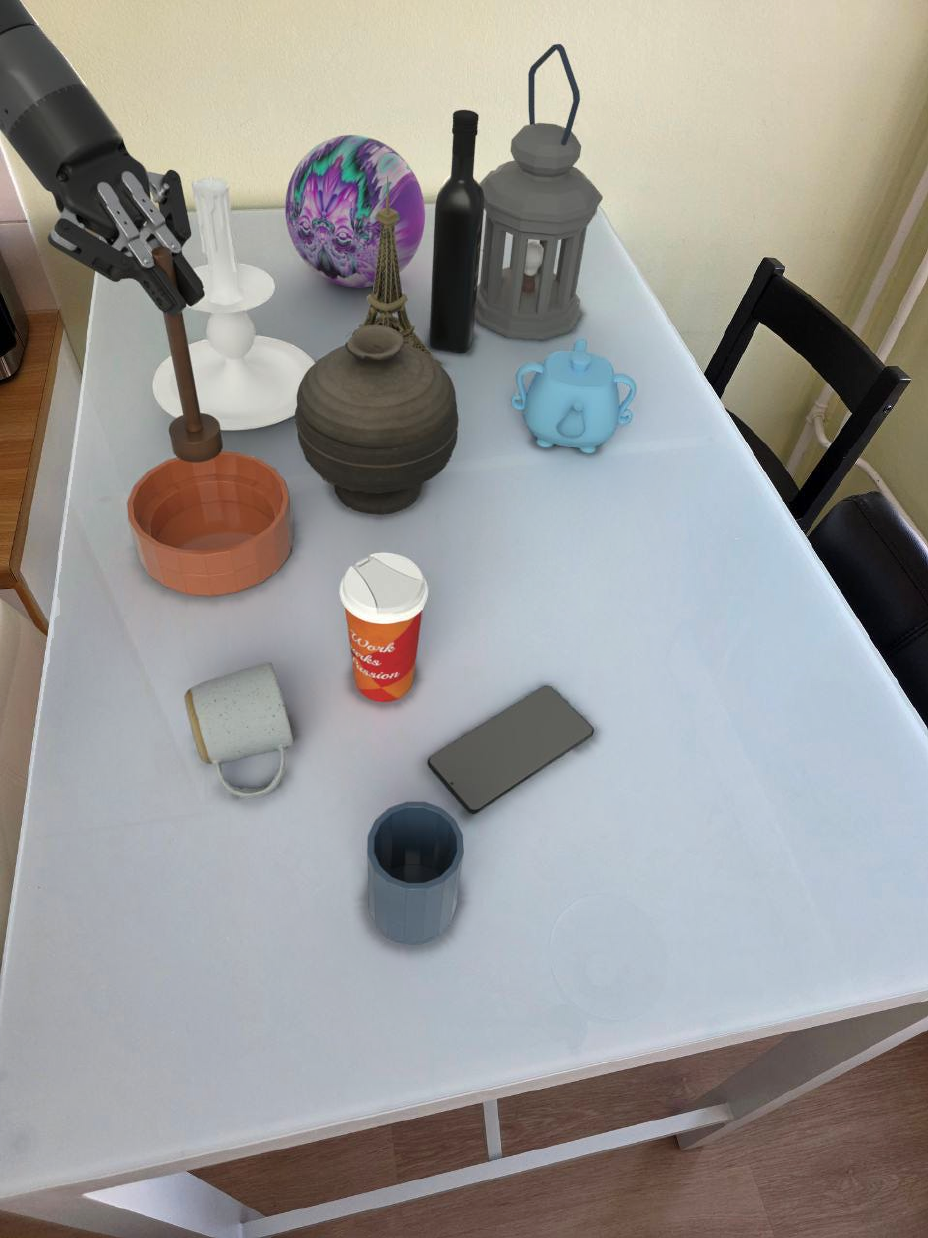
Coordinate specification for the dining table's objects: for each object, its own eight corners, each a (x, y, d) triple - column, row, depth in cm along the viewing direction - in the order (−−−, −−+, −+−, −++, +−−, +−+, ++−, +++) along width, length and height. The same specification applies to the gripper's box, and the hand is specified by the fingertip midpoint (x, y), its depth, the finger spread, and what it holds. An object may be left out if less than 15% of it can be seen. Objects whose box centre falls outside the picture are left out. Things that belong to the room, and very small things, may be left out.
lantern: (446, 302, 136) (461, 35, 110) (525, 270, 144) (556, 14, 118) (525, 353, 128) (561, 78, 102) (604, 316, 136) (656, 52, 110)
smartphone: (597, 730, 85) (472, 813, 78) (595, 735, 86) (471, 819, 79) (548, 682, 88) (424, 758, 82) (546, 687, 89) (424, 763, 82)
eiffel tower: (386, 333, 129) (387, 149, 110) (441, 364, 125) (451, 178, 106) (331, 362, 124) (322, 173, 105) (387, 396, 119) (388, 205, 101)
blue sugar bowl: (576, 396, 123) (587, 319, 115) (646, 450, 115) (663, 372, 107) (500, 424, 118) (505, 346, 110) (567, 483, 110) (579, 403, 102)
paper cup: (328, 675, 88) (320, 575, 78) (389, 636, 92) (389, 536, 82) (379, 726, 85) (378, 628, 74) (440, 684, 89) (448, 585, 78)
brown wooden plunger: (232, 451, 89) (202, 255, 74) (187, 469, 87) (147, 271, 72) (208, 426, 92) (174, 231, 77) (163, 443, 89) (120, 246, 74)
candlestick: (298, 331, 128) (282, 117, 107) (337, 437, 113) (326, 213, 92) (147, 347, 123) (98, 127, 102) (165, 461, 108) (113, 229, 87)
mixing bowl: (247, 618, 93) (240, 573, 88) (109, 572, 95) (94, 526, 91) (317, 519, 103) (314, 474, 98) (191, 480, 106) (181, 435, 101)
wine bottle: (474, 334, 131) (493, 108, 108) (467, 355, 127) (485, 126, 104) (435, 327, 131) (446, 101, 108) (427, 349, 127) (437, 119, 105)
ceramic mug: (189, 718, 84) (175, 668, 78) (277, 694, 86) (270, 644, 81) (214, 816, 78) (201, 769, 72) (307, 787, 80) (302, 740, 74)
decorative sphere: (265, 291, 134) (251, 150, 119) (329, 236, 147) (323, 101, 132) (388, 326, 130) (389, 184, 115) (443, 266, 143) (450, 131, 128)
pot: (301, 544, 99) (292, 377, 85) (296, 453, 112) (287, 295, 98) (463, 538, 102) (479, 376, 88) (440, 449, 115) (451, 296, 101)
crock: (437, 958, 71) (443, 903, 63) (354, 926, 72) (351, 869, 65) (467, 879, 75) (476, 820, 68) (389, 850, 77) (390, 789, 69)
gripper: (-15, 108, 64) (147, 322, 70) (129, 59, 73) (264, 255, 78) (-40, 164, 70) (112, 359, 76) (96, 113, 78) (224, 292, 84)
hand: (188, 305), depth 77 cm, fingers closed on brown wooden plunger
